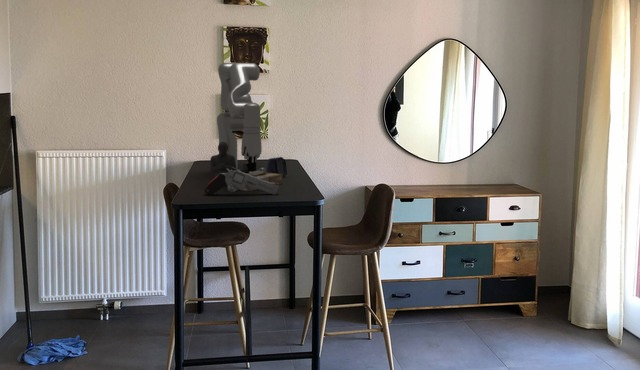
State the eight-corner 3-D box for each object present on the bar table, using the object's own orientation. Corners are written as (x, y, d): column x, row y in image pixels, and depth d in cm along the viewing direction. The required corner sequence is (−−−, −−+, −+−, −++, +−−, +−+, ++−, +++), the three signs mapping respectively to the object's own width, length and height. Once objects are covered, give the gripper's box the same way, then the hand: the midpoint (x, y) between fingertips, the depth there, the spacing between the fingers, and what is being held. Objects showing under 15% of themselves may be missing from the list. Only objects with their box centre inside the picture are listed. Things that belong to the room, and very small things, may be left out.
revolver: (204, 191, 295) (216, 159, 293) (267, 215, 299) (280, 184, 297) (203, 192, 291) (216, 160, 290) (267, 217, 295) (280, 185, 294)
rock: (274, 179, 340) (274, 158, 339) (266, 178, 344) (266, 157, 342) (288, 177, 348) (288, 156, 347) (280, 176, 351) (280, 156, 350)
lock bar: (261, 172, 326) (261, 160, 326) (267, 173, 325) (267, 160, 324) (241, 176, 314) (241, 163, 313) (247, 177, 312) (246, 164, 311)
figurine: (209, 185, 318) (208, 142, 315) (211, 183, 325) (210, 141, 322) (235, 185, 318) (235, 142, 315) (237, 183, 326) (236, 141, 323)
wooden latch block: (224, 188, 310) (224, 177, 309) (258, 181, 332) (258, 171, 332) (249, 191, 303) (249, 180, 302) (282, 183, 325) (282, 173, 324)
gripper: (254, 129, 318) (255, 168, 321) (235, 131, 306) (235, 172, 308) (268, 130, 315) (268, 169, 318) (249, 132, 302) (249, 173, 305)
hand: (252, 171), depth 313 cm, fingers closed
